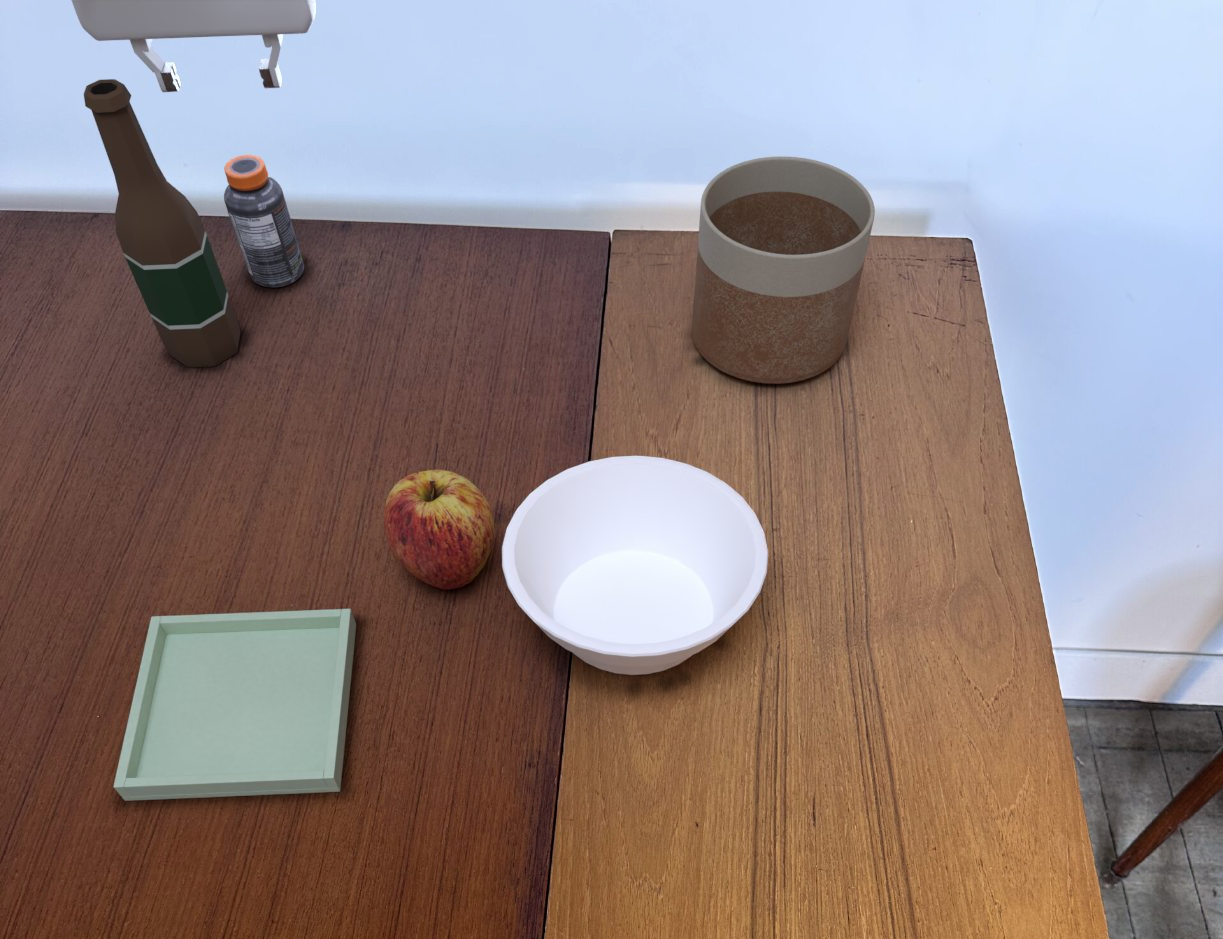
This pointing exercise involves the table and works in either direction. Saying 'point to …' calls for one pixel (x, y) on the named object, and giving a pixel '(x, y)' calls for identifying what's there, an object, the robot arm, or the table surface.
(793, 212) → the planter
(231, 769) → the tray
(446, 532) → the apple
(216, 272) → the beer bottle
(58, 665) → the table surface
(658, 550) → the bowl
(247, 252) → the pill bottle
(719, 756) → the table surface
